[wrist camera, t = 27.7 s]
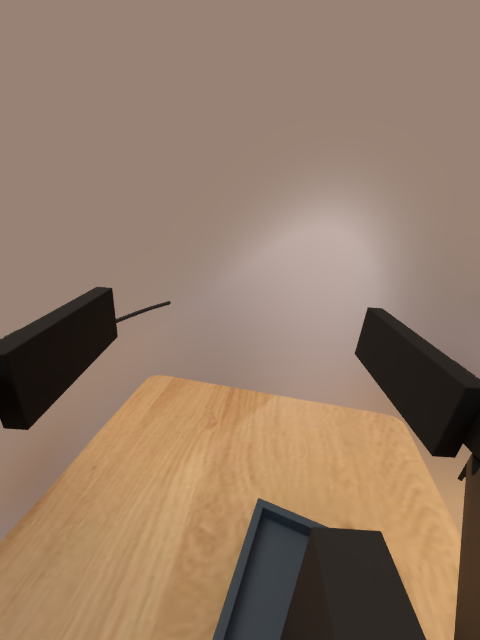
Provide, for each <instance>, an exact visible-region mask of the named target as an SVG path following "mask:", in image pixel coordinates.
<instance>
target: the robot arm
mask: <svg viewBox="0 0 480 640" xmlns="http://www.w3.org/2000/svg"><path fill="white" fill-rule="evenodd" d="M169 304H170V301H168V302H165V303H161V304H157V305H154V306H151V307H148V308H145V309H142V310H139V311H136V312H134V313H131V314H128V315H126V316H123V317H120V318H118V319H116V318H115V309H114V300H113V292H112V288H105V287H96V288H94V289H92V290H90V291H88V292H87V293H85V294H83V295H81V296H79V297H78V298H76V299H74V300H72V301H70V302H69V303H67V304H65V305H63V306H61V307H60V308H58V309H56V310H54V311H52V312H51V313H49V314H47V315H45V316H43V317H42V318H40V319H38V320H36V321H34V322H32V323H30V324H29V325H27V326H25V327H23V328H21V329H19V330H16V331H14V332H13V333H11V334H9V335H7V336H5V337H4V338H3V339H0V419H1V422H2V425H3V428H6V429H22V430H28V429H29V428H30V427H31V426H32V425H33V424H34V423H35V422H36V421H37V420H38V419H39V418H40V417H41V416H42V415H43V414H44V413H45V412H46V411H47V410H48V409H49V407H50V406H51V405H52V404H53V403H54V402H55V401H56V400H57V399H58V398H59V397H60V396H61V395H62V394H63V393H64V392H65V391H66V390H67V389H68V388H69V387H70V386H71V385H72V384H73V382H75V380H76V379H77V378H78V377H79V376H80V375H81V374H82V373H83V372H84V371H85V370H86V369H87V368H88V367H89V366H90V365H91V364H92V363H93V362H94V361H95V360H96V359H97V358H98V356H100V354H101V353H102V352H103V351H104V350H105V349H106V348H107V347H108V346H109V345H110V344H111V343H112V342H113V341H114V340H115V339H116V338H117V327H116V323H118V322H120V321H123V320H125V319H128V318H130V317H133V316H135V315H138V314H141V313H143V312H146V311H149V310H152V309H155V308H159V307H162V306H165V305H169ZM355 355H356V356H357V357H358V359H359V360H360V361H361V363H362V364H363V365H364V366H365V368H366V369H367V370H368V372H369V373H370V374H371V376H372V377H373V378H374V380H375V381H376V382H377V383H378V385H379V386H380V388H381V389H382V390H383V392H384V393H385V394H386V395H387V397H388V398H389V400H390V401H391V402H392V403H393V405H394V406H395V407H396V409H397V410H398V411H399V413H400V414H401V415H402V417H403V418H404V419H405V421H406V422H407V423H408V425H409V426H410V427H411V429H412V430H413V431H414V433H415V434H416V435H417V437H418V438H419V439H420V440H421V442H422V443H423V444H424V446H425V447H426V448H427V450H428V451H429V452H430V453H431V455H432V456H438V457H454V458H455V457H456V455H457V453H458V451H459V449H460V448H461V446H462V444H464V445H465V446H467V448H468V449H469V450H470V451H471V452H472V454H471V456H470V458H469V460H468V461H467V463H466V465H465V467H464V468H463V470H462V472H461V474H460V475H459V477H458V479H459V480H461V481H462V480H463V478H464V477H466V484H465V497H464V511H463V525H462V538H461V551H460V565H459V579H458V593H457V606H456V620H455V634H454V640H480V379H479V378H476V377H475V375H473V374H472V373H471V372H469V371H467V369H465V368H463V367H462V366H461V365H460V364H458V363H457V362H455V361H454V360H452V359H450V358H449V357H448V356H446V355H445V354H444V353H442V352H441V351H439V350H438V349H437V348H435V347H434V346H433V345H431V344H430V343H429V342H427V341H426V340H425V339H423V338H422V337H420V336H419V335H418V334H416V333H415V332H414V331H412V330H411V329H410V328H408V327H407V326H406V325H404V324H403V323H401V322H400V321H399V320H397V319H396V318H394V317H393V316H392V315H391V314H389V313H388V312H386V311H385V310H383V309H381V308H368V309H367V312H366V316H365V319H364V323H363V326H362V330H361V334H360V337H359V341H358V344H357V348H356V351H355Z"/></svg>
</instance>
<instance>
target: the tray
mask: <svg viewBox="0 0 480 640" xmlns="http://www.w3.org/2000/svg"><path fill="white" fill-rule="evenodd" d="M312 527H323V528H328V527H326V526H324V525H321V524H319V523H317V522H314V521H312V520H309V519H307V518H305V517H302V516H300V515H298V514H295V513H293V512H290V511H288V510H286V509H283V508H281V507H279V506H276V505H274V504H271V503H269V502H267V501H264V500H262V499H260V498H258V500H257V503H256V506H255V510H254V513H253V516H252V519H251V522H250V525H249V528H248V531H247V534H246V538H245V541H244V544H243V547H242V550H241V553H240V556H239V559H238V562H237V565H236V569H235V572H234V575H233V578H232V581H231V584H230V587H229V590H228V593H227V597H226V600H225V603H224V606H223V609H222V612H221V615H220V618H219V621H218V624H217V628H216V631H215V634H214V637H213V640H280V638H281V634H282V631H283V627H284V624H285V620H286V617H287V613H288V610H289V606H290V603H291V599H292V596H293V592H294V589H295V585H296V582H297V578H298V575H299V571H300V568H301V564H302V561H303V557H304V554H305V550H306V547H307V543H308V539H309V536H310V532H311V529H312Z"/></svg>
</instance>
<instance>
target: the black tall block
mask: <svg viewBox="0 0 480 640" xmlns="http://www.w3.org/2000/svg"><path fill="white" fill-rule="evenodd" d="M280 640H426V638H425V636H424V633H423V631H422V629H421V626H420V624H419V621H418V619H417V617H416V614H415V612H414V609H413V607H412V605H411V602H410V600H409V597H408V595H407V593H406V590H405V588H404V586H403V583H402V581H401V578H400V576H399V574H398V571H397V569H396V566H395V564H394V562H393V559H392V557H391V554H390V552H389V550H388V547H387V545H386V543H385V540H384V538H383V535H382V533H381V531H368V530H353V529H338V528H323V527H312V529H311V532H310V536H309V539H308V543H307V547H306V550H305V554H304V557H303V561H302V564H301V568H300V571H299V575H298V578H297V582H296V585H295V589H294V592H293V596H292V599H291V603H290V606H289V610H288V613H287V617H286V620H285V624H284V627H283V631H282V634H281V638H280Z"/></svg>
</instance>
